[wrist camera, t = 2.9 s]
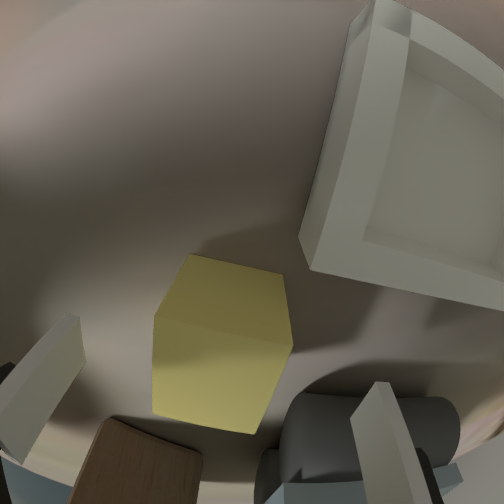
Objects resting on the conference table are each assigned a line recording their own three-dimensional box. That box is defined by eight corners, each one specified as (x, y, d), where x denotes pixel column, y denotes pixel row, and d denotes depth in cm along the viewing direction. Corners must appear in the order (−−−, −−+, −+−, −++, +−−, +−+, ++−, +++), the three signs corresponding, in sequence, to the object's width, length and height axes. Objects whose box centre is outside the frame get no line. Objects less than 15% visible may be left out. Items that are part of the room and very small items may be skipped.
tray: (297, 236, 15) (310, 270, 11) (349, 25, 11) (376, -7, 7) (486, 286, 16) (519, 314, 12) (530, 133, 11) (569, 139, 8)
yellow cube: (178, 340, 17) (152, 413, 12) (190, 253, 15) (154, 315, 10) (256, 357, 18) (254, 434, 12) (282, 273, 16) (293, 345, 10)
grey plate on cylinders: (244, 466, 23) (239, 565, 13) (292, 369, 18) (307, 538, 7) (367, 468, 24) (384, 551, 13) (446, 379, 19) (501, 483, 8)
